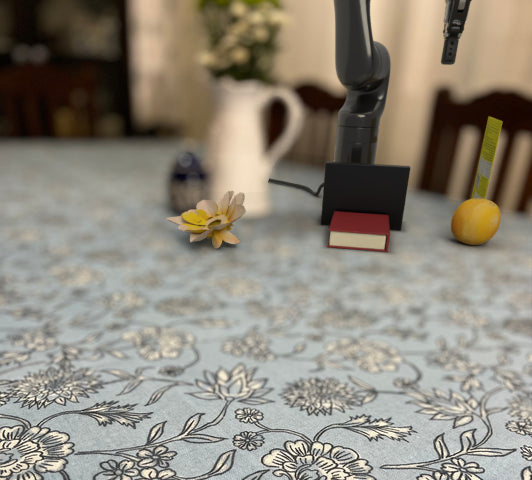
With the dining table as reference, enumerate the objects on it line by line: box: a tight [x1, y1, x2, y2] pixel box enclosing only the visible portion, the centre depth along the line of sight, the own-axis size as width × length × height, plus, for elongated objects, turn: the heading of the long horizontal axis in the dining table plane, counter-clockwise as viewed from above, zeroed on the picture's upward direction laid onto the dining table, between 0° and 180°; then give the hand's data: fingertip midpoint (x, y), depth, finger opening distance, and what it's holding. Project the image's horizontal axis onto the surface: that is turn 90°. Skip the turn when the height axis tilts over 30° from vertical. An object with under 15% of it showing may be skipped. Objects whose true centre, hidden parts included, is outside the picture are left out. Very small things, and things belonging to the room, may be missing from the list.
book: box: [327, 211, 391, 253], centre depth 96 cm, size 14×10×3 cm
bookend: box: [320, 160, 411, 232], centre depth 104 cm, size 7×16×12 cm, turn 80°
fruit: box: [450, 198, 502, 246], centre depth 95 cm, size 9×8×8 cm
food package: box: [470, 116, 503, 199], centre depth 109 cm, size 15×1×20 cm, turn 168°
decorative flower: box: [165, 190, 247, 250], centre depth 91 cm, size 15×11×10 cm
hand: (447, 64), depth 89 cm, fingers closed
